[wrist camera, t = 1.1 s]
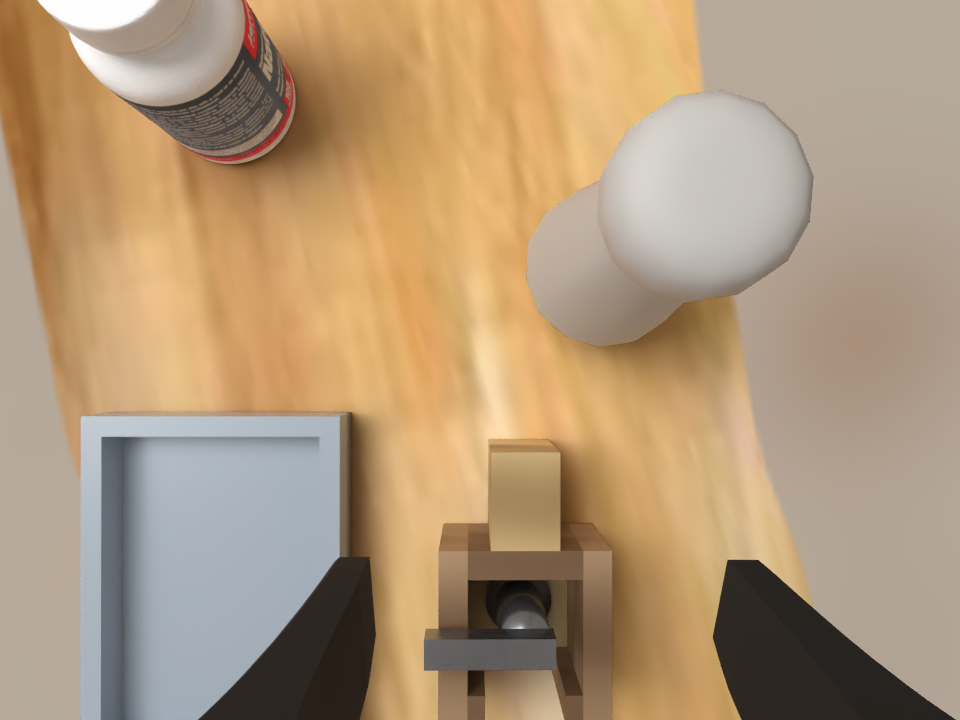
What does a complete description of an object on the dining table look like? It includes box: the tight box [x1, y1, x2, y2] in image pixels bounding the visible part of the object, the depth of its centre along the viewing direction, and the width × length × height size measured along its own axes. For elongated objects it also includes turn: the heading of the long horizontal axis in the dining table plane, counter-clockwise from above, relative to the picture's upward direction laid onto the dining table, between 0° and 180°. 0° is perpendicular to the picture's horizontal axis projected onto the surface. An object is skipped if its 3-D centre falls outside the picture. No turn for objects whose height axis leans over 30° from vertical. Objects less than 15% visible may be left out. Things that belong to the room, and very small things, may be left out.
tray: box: [80, 412, 350, 720], centre depth 24 cm, size 13×10×2 cm
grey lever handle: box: [424, 580, 556, 671], centre depth 22 cm, size 3×5×5 cm, turn 90°
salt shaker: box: [526, 90, 813, 347], centre depth 18 cm, size 6×6×13 cm
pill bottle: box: [38, 0, 296, 164], centre depth 20 cm, size 5×5×9 cm
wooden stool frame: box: [438, 439, 612, 720], centre depth 23 cm, size 9×6×4 cm, turn 0°
